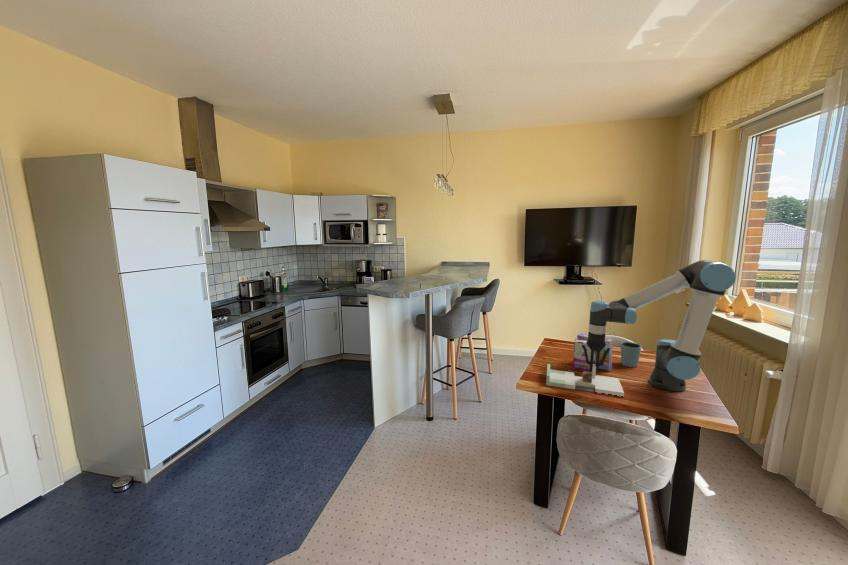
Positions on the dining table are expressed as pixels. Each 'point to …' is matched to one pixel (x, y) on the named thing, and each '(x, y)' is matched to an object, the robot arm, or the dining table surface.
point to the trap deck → (576, 382)
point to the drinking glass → (630, 354)
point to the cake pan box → (601, 352)
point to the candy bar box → (581, 356)
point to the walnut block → (587, 376)
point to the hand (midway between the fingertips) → (593, 377)
